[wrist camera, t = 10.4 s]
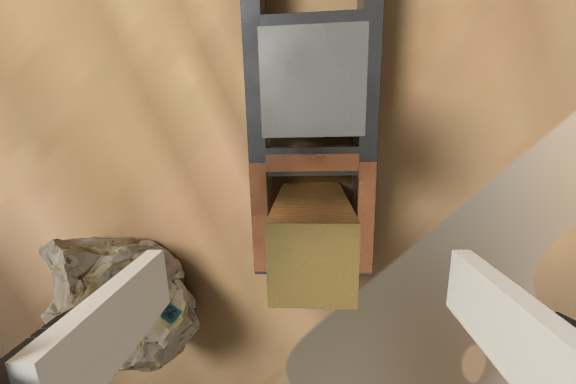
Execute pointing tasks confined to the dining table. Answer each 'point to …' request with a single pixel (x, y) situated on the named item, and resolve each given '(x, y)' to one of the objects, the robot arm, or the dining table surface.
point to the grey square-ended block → (313, 79)
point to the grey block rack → (312, 157)
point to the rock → (101, 268)
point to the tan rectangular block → (312, 248)
